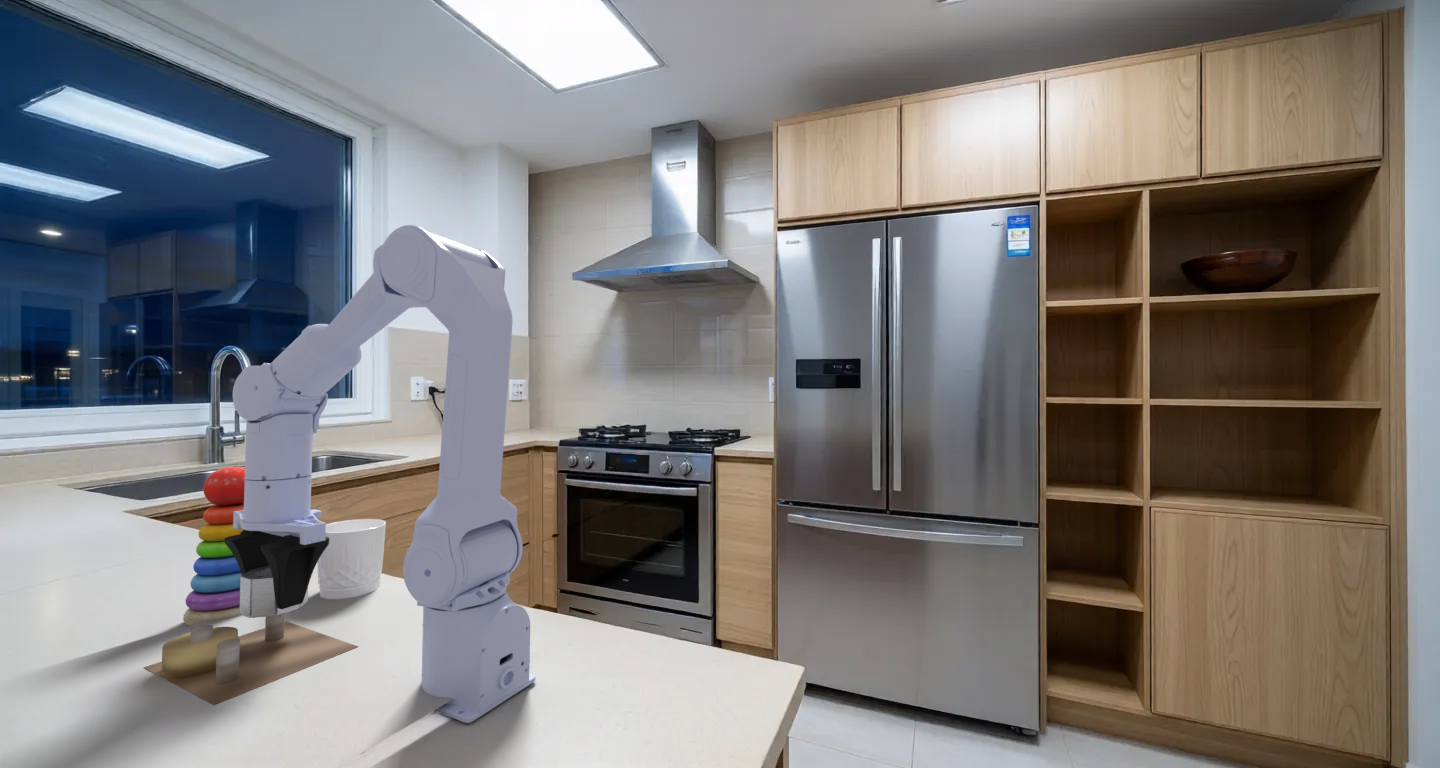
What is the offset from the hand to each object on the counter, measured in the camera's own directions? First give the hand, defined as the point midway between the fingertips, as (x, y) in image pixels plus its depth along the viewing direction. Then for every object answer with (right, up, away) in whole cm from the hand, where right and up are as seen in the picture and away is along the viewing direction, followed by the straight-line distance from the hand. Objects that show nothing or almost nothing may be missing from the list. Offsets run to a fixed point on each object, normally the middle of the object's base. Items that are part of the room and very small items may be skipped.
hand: (275, 600), depth 59 cm
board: (+1, -5, -4) cm, 7 cm away
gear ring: (0, -1, 0) cm, 1 cm away
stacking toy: (-13, -6, +8) cm, 16 cm away
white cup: (-2, -6, +15) cm, 16 cm away
